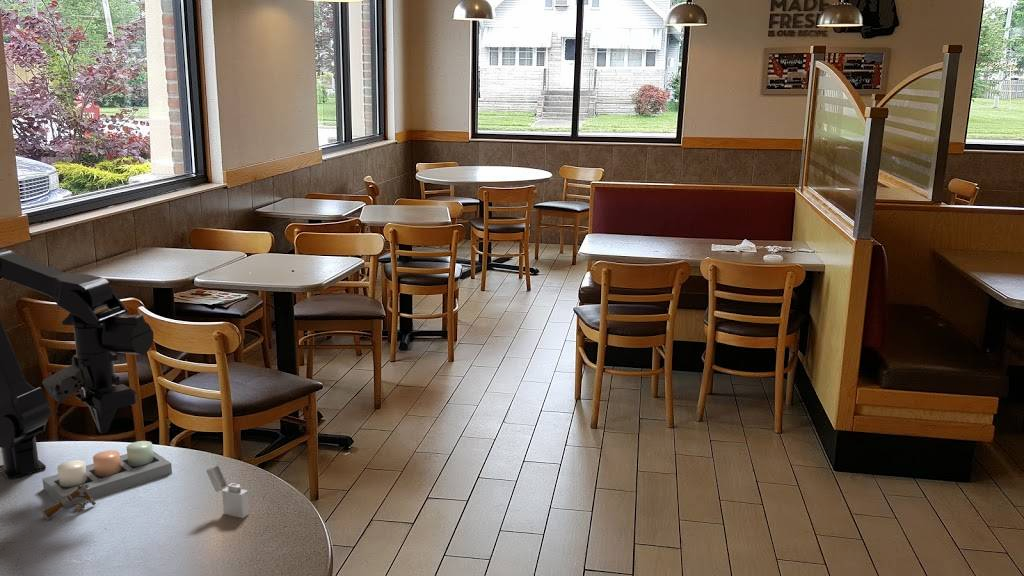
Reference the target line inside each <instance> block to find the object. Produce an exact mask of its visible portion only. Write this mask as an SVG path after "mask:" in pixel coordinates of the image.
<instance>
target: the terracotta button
mask: <svg viewBox="0 0 1024 576" xmlns="http://www.w3.org/2000/svg"><path fill="white" fill-rule="evenodd" d="M120 456H121V453H120V451H118V450H112V449H111V450H103V451H100V452H97V453H95V454H94V455H93V456H92V461H93V464H94V471H95V474H96V475H98V476H104V477H109V476H112V475H115V474H118V472H119V471H120V470H121V462H120Z"/></svg>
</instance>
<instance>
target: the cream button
mask: <svg viewBox="0 0 1024 576" xmlns="http://www.w3.org/2000/svg"><path fill="white" fill-rule="evenodd" d="M86 466H87V465H86V462H85V461H84V460H81V459H80V460H79V459H78V460H69V461H65V462H63V463H61V464H59V465H58V466H57V474H58V476H59V483H60V485H61V486H64V487H68V488H73V487H76V486H79V485H83V484H85V483H84V482H86V481H87V473H86Z"/></svg>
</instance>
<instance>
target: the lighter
mask: <svg viewBox="0 0 1024 576" xmlns="http://www.w3.org/2000/svg"><path fill="white" fill-rule="evenodd" d="M205 471H206V474H207V476H208V478H209V480H210V483H211V485H212V487H213V489H214V491H215V492H216V493H217V492H218V493H219V492H220V491H221V493H222V504H223V505H222V506H223V514H224V515H227V516H231V517H236V518H240V519H244V518H246V517H248V516H249V515H250V508H249V495H248V492H249V491H248V490H247V489H242V487H241V484H239V483H236V482H235V483H234V482H231V483H228V482H227V480H226V478H225V475H224V473H223V472H222V469H221V467H220V465H219V464H214V465H212V466H210V467H209V468H207V469H206V470H205Z"/></svg>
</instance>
